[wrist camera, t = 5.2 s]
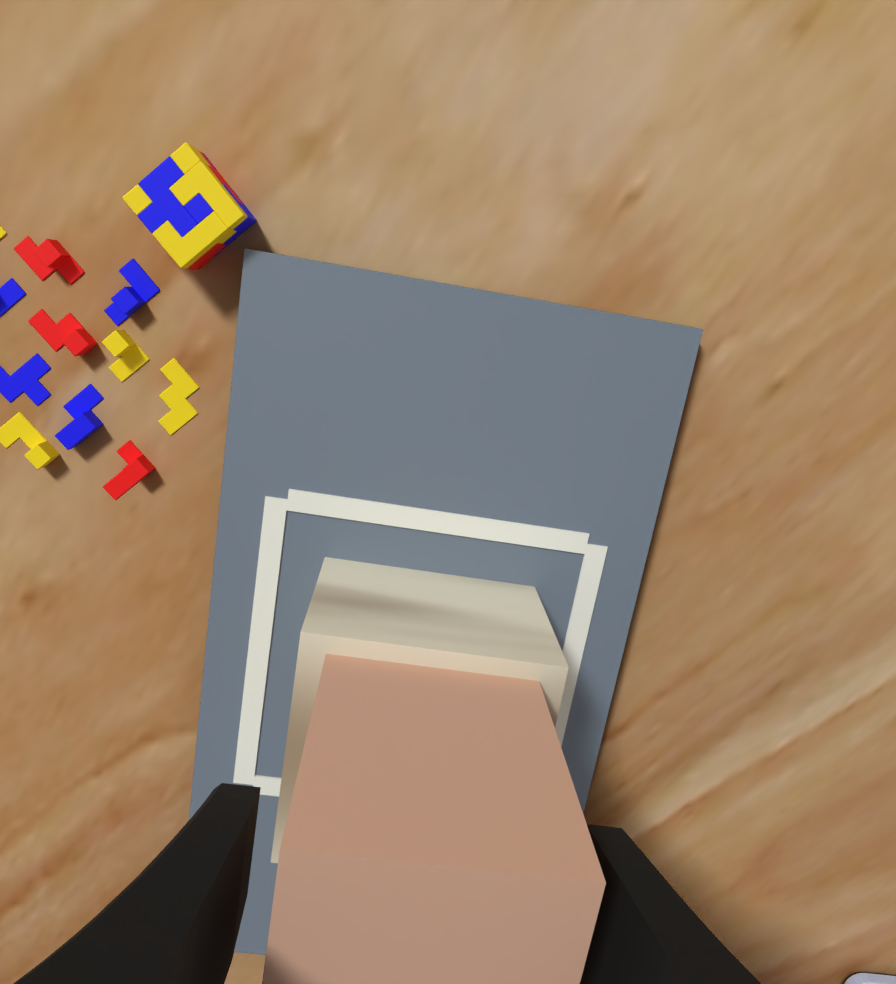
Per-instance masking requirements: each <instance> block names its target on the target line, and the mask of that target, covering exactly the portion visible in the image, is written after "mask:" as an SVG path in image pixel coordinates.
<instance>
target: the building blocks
mask: <svg viewBox="0 0 896 984" xmlns="http://www.w3.org/2000/svg"><path fill="white" fill-rule="evenodd" d="M123 199H124V201H125V202H126V203H127V204H128V205H129V207H130V208H131V209H132V210H133V211H134V213H135V214H136V215H138V217H139V219H140V220H141V221H142V222H143V223H144V225H145V226H146V227H147V228H148V229H149V231H150V232H151V233H152V234H153V235H154V237H155V238H156V239H157V240H158V241H159V243H160V244H161V245H162V246H163V247H164V249H165V250H166V251H167V252H168V253H169V255H170V256H171V257H172V258H173V259H174V261H175V262H176V263H177V264H178V265H179V267H180V268H186V269H197V270H199V269H200V268H201V267H203V266H204V265H205V264H206V263H207V262H209V261H210V260H211V259H212V258H213V257H214V256H216V255H217V254H218V253H219V252H220V251H222V250H223V249H224V248H225V247H226V246H228V245H229V244H230V243H231V242H232V241H233V240H235V239H236V238H237V237H238V236H239V235H241V234H242V233H243V232H244V231H245V230H247V229H248V228H249V227H250V226H251V225H253V224H254V223H255V222H256V221H257V220H256V219H255V218H254V216H253V215H252V214H251V213H250V211H249V210H248V209H247V207H246V206H245V205H244V204H243V202H242V201H241V200H240V199H239V197H238V196H237V195H236V194H235V192H234V191H233V190H232V189H231V188H230V186H229V185H228V183H227V182H226V181H225V180H224V178H223V177H222V176H221V175H220V173H219V172H218V171H217V170H216V168H215V167H214V166H213V165H212V163H211V162H210V161H209V159H208V158H207V157H206V156H205V154H203V153H202V152H200V151H199V150H197V149H196V148H194V147H193V146H191V145H189V144H188V143H186V142H185V143H184V144H183V145H182V146H181V147H180V148H178V149H177V150H176V151H175V152H174V153H173V154H172V155H170V156H169V157H168V158H167V159H166V160H165V161H164V162H162V163H161V164H160V165H159V166H158V167H157V168H156V169H154V170H153V171H152V172H151V173H150V174H149V175H148V176H146V177H145V178H144V179H143V180H142V181H141V182H139V183H138V184H137V185H136V186H135V187H134V188H133V189H131V190H130V191H129V192H128V193H127V194H126V195H125V196H123ZM6 234H7V232H6V231H5V230H4V229H3V228H2V227H1V226H0V239H1V238H3V237H4V236H5V235H6ZM14 250H15V251H16V252H17V253H18V254H19V255H20V256H21V257H22V259H23V260H24V261H25V262H26V263H27V264H28V265H29V266H30V268H31V269H32V270H33V271H34V272H35V273H36V274H37V275H38V277H39V278H40V279H41V280H44V279H45V278H47V277H48V276H49V275H50V274H51V273H52V272H54V271H55V270H56V269H57V270H58V271H59V272H60V273H61V274H62V275H63V277H64V278H65V279H66V280H67V281H68V282H69V283H70V284H72V283H73V282H74V281H76V280H77V279H78V278H79V277H80V276H81V275H83V274H84V273H85V272H84V270H83V269H82V268H81V267H80V266H79V265H78V264H77V262H76V261H75V260H74V259H73V258H72V257H71V256H70V254H69V253H68V252H67V251H66V250H65V249H64V248H63V246H62V245H61V244H60V243H59V242H58V241H57V240H51V239H46V240H45V241H44V242H43V243H42V244H41V245H39V246H38V247H37V245H36V244H35V243H34V242H33V241H32V240H31V239H30V237H29V236H27V237H26V238H25V239H24V240H23V241H21V242H20V243H19V244H18V245H17V246H16V247H15V248H14ZM119 272H120V273H121V274H122V275H123V276H124V277H125V279H126V280H127V281H128V282H129V283H130V284H131V286H132V287H124V288H123V289H122V290H120V291H119V292H118V293H117V294H116V295H115V296H113V297H112V298H111V300H112V301H113V302H114V303H112V304H111V305H110V306H109V307H108V308H106V309H105V310H104V311H105V312H106V313H107V315H108V316H109V317H110V318H111V319H112V320H113V321H114V323H115V324H116V325H117V326H119V325H120V324H121V323H122V322H123V321H124V320H126V319H127V318H128V317H129V316H130V315H132V314H133V313H134V312H135V311H136V310H138V309H139V308H140V307H141V306H142V305H143V304H145V303H146V302H147V301H148V300H149V299H151V298H152V297H153V296H154V295H155V294H156V293H158V292H159V291H160V289H159V288H158V287H157V286H156V284H155V283H154V282H153V281H152V280H151V278H150V277H149V276H148V275H147V274H146V273H145V271H144V270H143V269H142V268H141V267H140V266H139V264H138V263H137V262H136V261H135V260H134V259H132V260H130V261H129V262H128V263H127V264H126V265H125V266H123V267H122V268H121V269H120V270H119ZM25 295H26V293H25V292H24V290H23V289H22V288H21V287H20V286H19V285H18V284H17V283H16V282H15V280H14V279H13V278H11V279H10V280H9V281H8V282H6V283H5V284H4V285H3V286H2V287H1V288H0V316H2V315H3V314H4V313H5V312H6V311H7V310H8V309H10V308H11V307H12V306H13V305H14V304H15V303H17V302H18V301H19V300H20V299H21V298H22V297H23V296H25ZM28 321H29V323H30V324H31V325H32V326H33V327H34V328H35V329H36V330H37V331H38V332H39V334H40V335H41V336H42V337H43V338H44V339H45V340H46V341H47V342H48V344H49V345H50V346H51V347H52V348H53V349H54V350H55V351H57V350H59V349H60V348H61V347H62V346H63V345H65V346H66V347H67V348H68V349H69V350H70V351H71V353H72V354H73V355H74V356H79V355H84V354H85V353H87V352H88V351H89V350H90V349H91V348H93V347H94V346H95V345H96V344H97V342H96V341H95V340H94V339H93V338H92V336H91V335H90V334H89V333H88V332H87V331H86V330H85V329H84V327H83V326H82V325H81V324H80V323H79V322H78V321H77V320H76V318H75V317H74V316H73V315H72V314H71V313H69V314H67V315H66V316H65V317H64V318H63V319H62V320H60V321H59V322H58V323H57V324H55V322H54V321H53V320H52V319H51V318H50V317H49V316H48V315H47V314H46V312H45V311H44V310H43V309H41V310H40V311H39V312H38V313H37V314H35V315H34V316H33V317H32V318H31V319H30V320H28ZM102 343H103V344H104V345H105V346H106V348H107V349H108V350H109V351H110V352H111V353H112V354H113V355H114V357H118V356H122V357H121V358H119V359H118V360H117V361H116V362H115V363H113V364H112V365H111V366H110V367H109V368H110V370H111V371H112V372H113V373H114V374H115V375H116V376H117V377H118V379H119V380H120V381H121V382H123V381H124V380H125V379H127V378H128V377H129V376H130V375H131V374H133V373H134V372H135V371H136V370H137V369H139V368H140V367H141V366H142V365H144V364H145V363H146V362H147V361H148V360H149V358H148V356H147V355H146V354H145V353H144V352H143V351H142V350H141V348H140V347H139V346H138V345H137V344H136V343H135V342H134V340H133V339H132V338H131V337H130V336H129V335H128V334H127V332H126V331H125V330H124V329H121V330H115V331H114V332H113V333H112V334H110V335H109V336H108V337H107V338H106V339H105V340H103V341H102ZM50 369H51V367H50V366H49V365H48V364H47V363H46V362H45V361H44V360H43V359H42V358H41V356H40V355H39V354H36V355H35V356H33V357H32V358H31V359H30V360H29V361H28V362H26V363H25V364H24V365H23V366H22V367H20V368H19V369H18V370H17V371H16V372H15V373H13V374H12V375H11V376H9V375H8V374H7V373H6V371H5V370H4V369H3V368H2V367H1V366H0V393H1V394H2V395H3V396H4V397H5V398H6V399H7V400H8V401H9V402H10V403H11V402H12V401H13V400H14V399H16V398H17V397H18V396H19V395H20V394H21V393H23V392H25V393H26V394H27V395H28V397H29V398H30V399H31V400H32V401H33V402H34V403H35V404H36V405H37V406H38V405H40V404H41V403H42V402H43V401H44V400H45V399H47V398H48V397H49V396H50V395H51V394H50V393H49V392H48V391H47V389H46V388H45V387H44V386H43V385H42V384H41V383H40V382H39V381H38V379H39V378H40V377H42V376H43V375H44V374H45V373H46V372H47V371H49V370H50ZM160 370H161V371H162V372H163V374H164V375H165V376H166V377H167V378H168V379H169V380H170V382H171V383H172V385H171V386H170V387H169V388H167V389H166V390H165V391H164V392H163V393H161V394H160V395H159V396H160V397H161V398H162V400H163V401H164V402H165V403H166V404H167V405H168V406H169V407H170V409H171V411H170V412H169V413H167V414H166V415H165V416H164V417H163V418H161V419H160V420H159V421H158V422H159V423H160V424H161V425H162V426H163V427H164V428H165V430H166V431H167V432H168V433H169V434H170V435H172V434H173V433H174V432H176V431H177V430H178V429H179V428H181V427H182V426H183V425H184V424H186V423H187V422H188V421H189V420H190V419H192V418H193V417H194V416H195V415H197V414H198V412H197V411H196V410H195V409H194V407H193V406H192V405H191V404H190V403H189V402H188V401H187V399H186V398H187V397H188V396H190V395H191V394H192V393H193V392H195V391H196V390H197V389H198V388H199V386H198V385H197V384H196V382H195V381H194V380H193V379H192V378H191V377H190V376H189V374H188V373H187V372H186V371H185V370H184V369H183V367H182V366H181V365H180V364H179V363H178V362H177V361H176V359H175V358H173V359H172V360H171V361H169V362H168V363H167V364H166V365H164V366H163V367H162V368H161V369H160ZM103 399H104V398H103V397H102V396H101V394H100V393H99V392H98V391H97V390H96V389H95V388H94V387H93V386H92V385H91V384H90V385H88V386H87V387H86V388H85V389H84V390H82V391H81V392H80V393H79V394H78V395H76V396H75V397H74V398H73V399H72V400H70V401H69V402H68V403H67V404H66V405H64V406H63V407H64V408H65V409H66V410H67V411H68V412H69V413H70V414H71V416H72V417H73V418H74V420H73V421H72V422H71V423H69V424H68V425H67V426H66V427H65V428H63V429H62V430H61V431H60V432H59V433H57V434H56V435H55V437H56V438H57V439H58V440H59V441H60V442H61V443H62V444H63V445H64V446H65V447H66V448H67V449H68V450H69V449H72V448H74V447H76V446H77V445H79V444H80V443H81V442H82V441H83V440H85V439H86V438H87V437H88V436H89V435H91V434H92V433H93V432H95V431H96V430H97V429H98V428H99V427H101V426H102V425H103V423H102V422H101V421H100V420H99V419H98V417H97V416H96V415H95V414H94V413H93V412H92V411H91V409H92V408H93V407H94V406H95V405H97V404H98V403H99V402H100V401H101V400H103ZM18 438H21V439H22V440H23V441H24V442H25V443H26V445H27V446H28V447H29V448H30V449H31V450H30V451H29V452H28V453H26V454H25V457H26V458H27V459H28V460H29V461H30V462H31V463H32V464H33V465H34V466H35V467H36V468H37V469H40V468H42V467H44V466H46V465H48V464H49V463H50V462H52V461H53V460H54V459H55V458H56V457H58V456H59V455H60V454H59V453H58V452H57V451H56V450H55V449H54V448H53V446H52V445H51V444H50V443H49V442H48V441H47V440H46V439H45V438H44V437H43V436H42V435H41V434H40V433H39V432H38V431H37V429H36V428H35V427H34V426H33V425H32V424H31V423H30V422H29V421H28V420H27V419H26V418H25V417H24V416H23V415H22V414H21V413H20V412H18V413H17V414H16V415H15V416H14V417H13V418H11V419H10V420H9V421H8V422H7V423H5V424H4V425H3V426H2V427H1V428H0V442H1V443H2V444H3V446H4V447H5V448H8V447H9V446H10V445H11V444H12V443H14V442H15V441H16V440H17V439H18ZM117 452H118V453H119V454H120V456H121V457H122V458H123V459H124V460H125V461H126V462H127V463H128V465H127V466H126V467H125V468H123V471H121V472H120V473H119V474H118V475H116V476H115V477H114V478H113V479H111V480H110V481H109V482H108V483H107V484H105V485H104V486H103V488H104V489H105V490H106V491H107V492H108V493H109V494H110V495H111V496H112V497H113V498H114V499H115V500H116V499H118V498H119V497H120V496H121V495H123V494H124V493H125V492H126V491H128V490H129V489H130V488H131V487H133V486H134V485H135V484H136V483H137V482H139V481H140V480H141V479H142V478H144V477H145V476H146V475H147V474H149V473H150V472H151V471H152V470H154V469H155V467H154V466H153V465H152V463H151V462H150V461H149V460H148V459H147V458H146V457H145V456H144V455H143V454H142V452H141V451H140V450H139V449H138V448H137V447H136V446H135V445H134V444H133V443H132V441H131V440H129V441H128V442H127V443H126V444H124V445H123V446H122V447H121V448H120V449H118V450H117Z"/></svg>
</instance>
